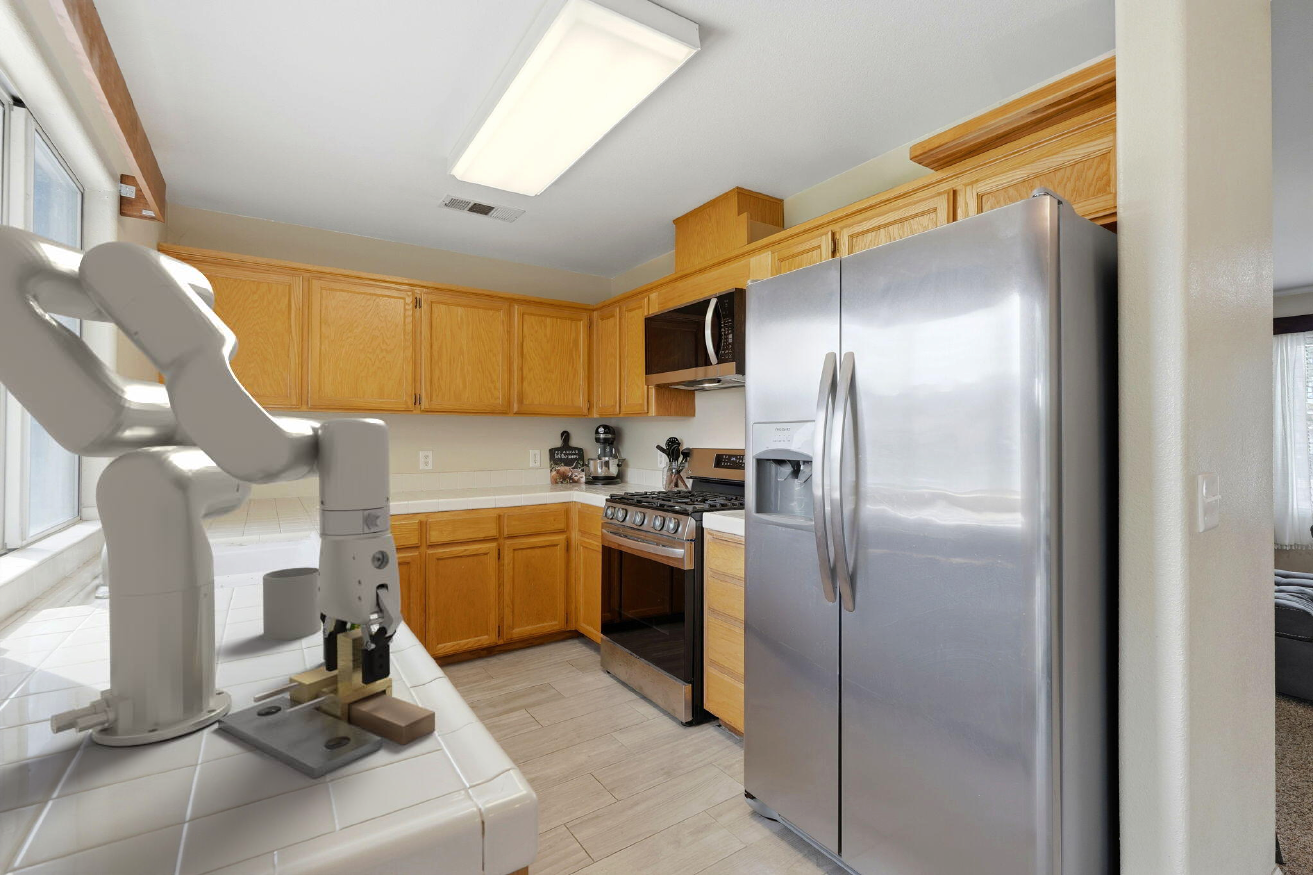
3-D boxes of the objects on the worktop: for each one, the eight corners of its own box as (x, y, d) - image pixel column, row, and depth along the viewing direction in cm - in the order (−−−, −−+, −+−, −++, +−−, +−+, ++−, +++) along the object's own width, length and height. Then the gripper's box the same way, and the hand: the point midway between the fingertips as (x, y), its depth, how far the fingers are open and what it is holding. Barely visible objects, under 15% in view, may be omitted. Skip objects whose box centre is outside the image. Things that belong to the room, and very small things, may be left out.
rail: (348, 771, 61) (348, 736, 61) (244, 719, 72) (244, 690, 72) (444, 725, 70) (443, 695, 70) (338, 686, 81) (338, 660, 81)
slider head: (297, 743, 66) (296, 656, 66) (277, 734, 68) (276, 650, 68) (392, 704, 75) (391, 628, 75) (372, 697, 77) (371, 623, 77)
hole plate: (314, 778, 59) (314, 767, 59) (218, 727, 70) (217, 717, 70) (381, 747, 65) (381, 737, 65) (282, 704, 76) (282, 695, 76)
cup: (302, 640, 100) (302, 578, 100) (252, 640, 100) (251, 578, 100) (331, 624, 108) (330, 567, 108) (284, 624, 109) (283, 567, 109)
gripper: (429, 523, 72) (431, 678, 72) (344, 514, 81) (346, 651, 81) (369, 532, 66) (371, 702, 66) (284, 521, 75) (286, 669, 75)
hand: (357, 672), depth 74 cm, fingers open, 6 cm apart
